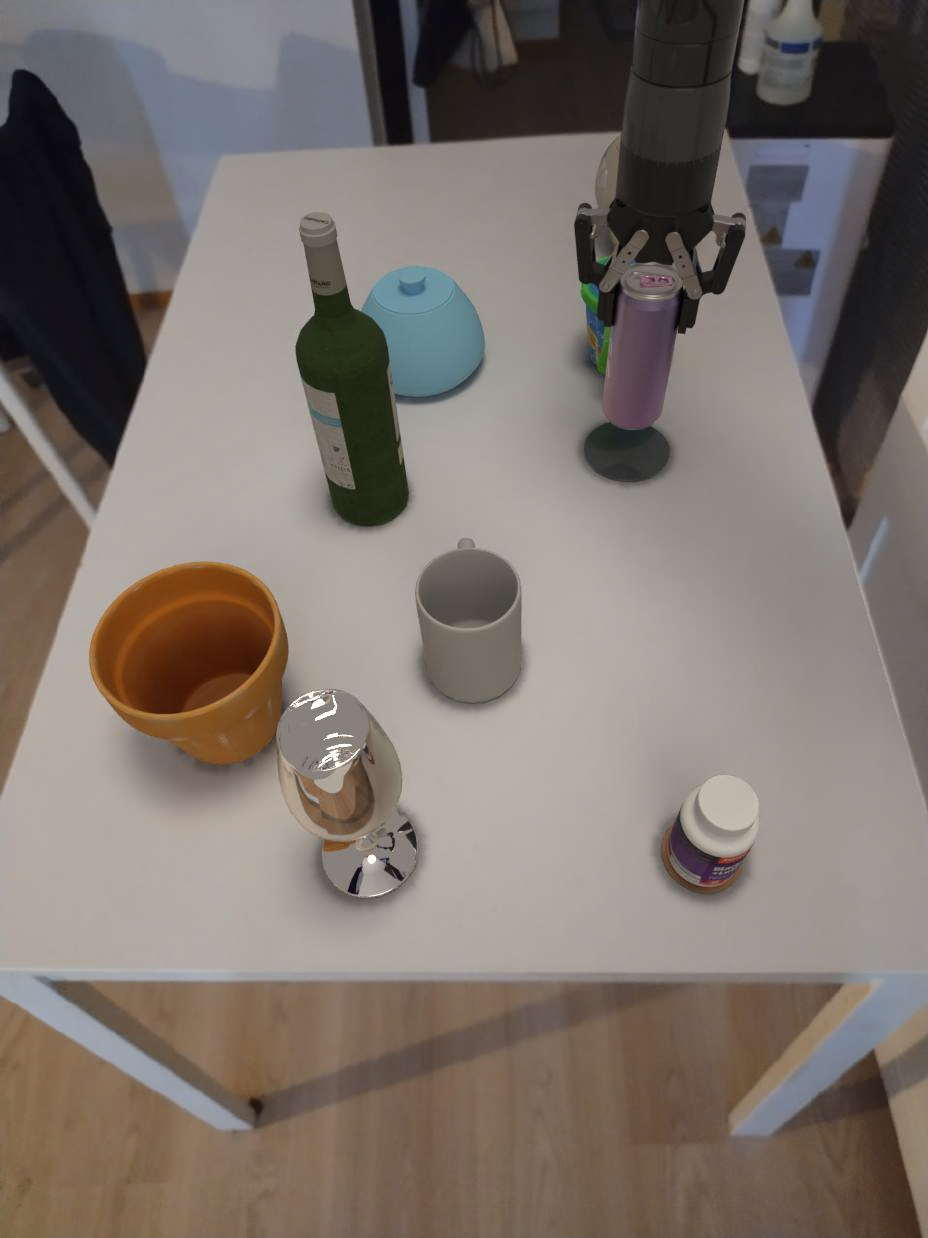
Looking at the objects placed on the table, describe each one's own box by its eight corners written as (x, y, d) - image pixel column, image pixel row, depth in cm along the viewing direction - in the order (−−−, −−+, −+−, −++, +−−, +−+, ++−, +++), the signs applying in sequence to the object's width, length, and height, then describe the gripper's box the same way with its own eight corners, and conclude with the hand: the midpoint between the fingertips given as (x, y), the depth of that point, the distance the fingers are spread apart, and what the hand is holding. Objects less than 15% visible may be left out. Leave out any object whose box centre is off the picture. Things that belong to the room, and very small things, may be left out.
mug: (525, 700, 74) (527, 628, 65) (426, 707, 74) (414, 635, 65) (514, 590, 81) (514, 510, 72) (424, 596, 81) (412, 517, 72)
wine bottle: (424, 488, 89) (389, 208, 64) (378, 538, 85) (323, 262, 61) (363, 461, 92) (308, 182, 67) (317, 508, 88) (241, 232, 64)
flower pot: (230, 625, 80) (186, 533, 69) (346, 698, 75) (318, 611, 64) (115, 739, 74) (47, 657, 63) (234, 827, 68) (182, 754, 58)
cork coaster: (743, 824, 66) (744, 823, 66) (740, 900, 63) (741, 899, 63) (664, 810, 67) (665, 809, 67) (658, 885, 64) (658, 883, 64)
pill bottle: (711, 904, 63) (739, 857, 55) (651, 854, 65) (670, 803, 57) (753, 852, 65) (786, 800, 57) (694, 805, 67) (718, 749, 59)
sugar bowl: (386, 314, 106) (374, 225, 97) (502, 334, 103) (500, 244, 93) (337, 391, 98) (318, 302, 89) (460, 416, 95) (453, 326, 86)
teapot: (584, 214, 117) (593, 84, 104) (685, 207, 117) (706, 76, 103) (601, 293, 107) (613, 159, 93) (711, 286, 106) (739, 151, 93)
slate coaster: (672, 426, 92) (673, 424, 92) (666, 486, 87) (666, 484, 87) (589, 417, 94) (589, 415, 94) (578, 476, 89) (578, 474, 89)
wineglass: (309, 893, 65) (240, 782, 49) (332, 797, 69) (275, 666, 53) (411, 906, 64) (374, 797, 48) (427, 808, 69) (399, 678, 52)
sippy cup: (642, 413, 94) (654, 334, 85) (553, 388, 97) (556, 309, 89) (688, 331, 102) (703, 251, 93) (604, 310, 105) (612, 231, 96)
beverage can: (660, 435, 84) (686, 301, 72) (599, 430, 85) (614, 297, 73) (661, 395, 88) (686, 260, 76) (603, 391, 89) (618, 257, 76)
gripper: (569, 152, 63) (560, 344, 77) (771, 163, 61) (724, 358, 75) (582, 104, 67) (571, 294, 81) (771, 112, 65) (727, 306, 79)
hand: (645, 324), depth 78 cm, fingers closed on beverage can, 6 cm apart
